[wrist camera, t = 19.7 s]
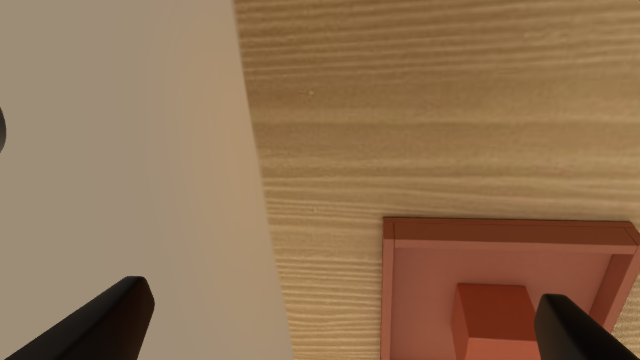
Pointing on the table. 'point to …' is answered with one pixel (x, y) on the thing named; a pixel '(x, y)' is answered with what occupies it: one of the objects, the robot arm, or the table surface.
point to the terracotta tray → (496, 272)
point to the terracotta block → (493, 323)
